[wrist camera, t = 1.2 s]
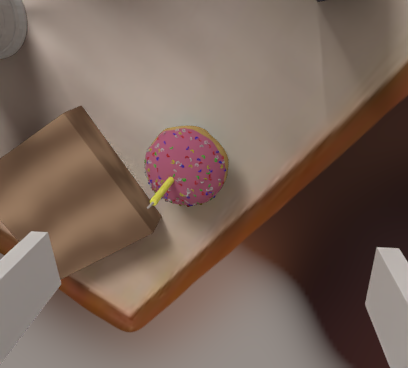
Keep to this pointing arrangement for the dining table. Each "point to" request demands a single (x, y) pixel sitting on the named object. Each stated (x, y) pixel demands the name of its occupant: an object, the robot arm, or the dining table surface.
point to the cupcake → (185, 166)
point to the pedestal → (73, 193)
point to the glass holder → (12, 27)
